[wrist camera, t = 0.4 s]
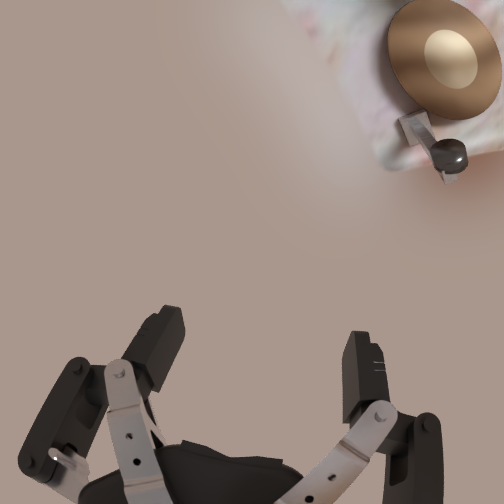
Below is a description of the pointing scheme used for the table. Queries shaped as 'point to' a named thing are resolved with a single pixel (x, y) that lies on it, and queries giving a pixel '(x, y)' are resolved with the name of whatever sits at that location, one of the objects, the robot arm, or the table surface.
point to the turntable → (444, 58)
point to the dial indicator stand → (435, 146)
